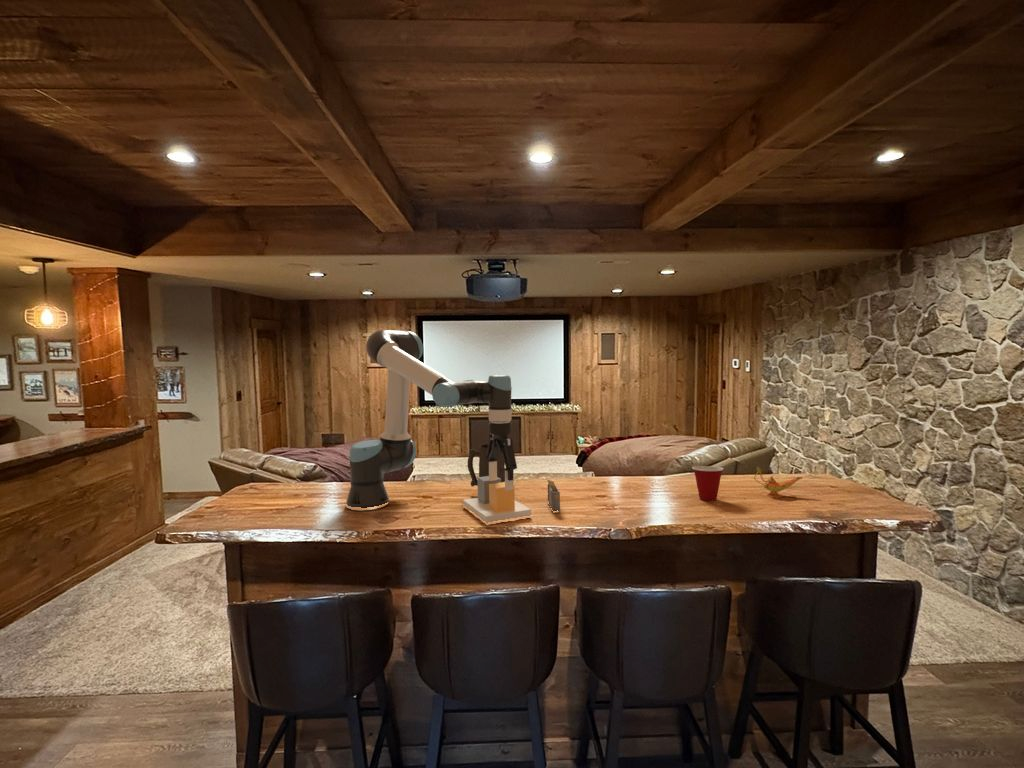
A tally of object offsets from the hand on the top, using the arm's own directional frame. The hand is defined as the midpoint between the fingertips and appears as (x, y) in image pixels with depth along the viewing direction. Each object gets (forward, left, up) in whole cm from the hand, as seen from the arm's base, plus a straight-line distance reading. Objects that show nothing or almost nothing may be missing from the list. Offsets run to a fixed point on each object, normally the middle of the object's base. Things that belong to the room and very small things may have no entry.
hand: (500, 485), depth 171 cm
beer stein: (-28, +6, -11) cm, 31 cm away
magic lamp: (+26, +101, -11) cm, 105 cm away
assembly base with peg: (-5, 0, -11) cm, 12 cm away
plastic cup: (+17, +75, -11) cm, 78 cm away
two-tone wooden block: (0, 0, -8) cm, 8 cm away
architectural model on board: (-1, +20, -12) cm, 23 cm away
